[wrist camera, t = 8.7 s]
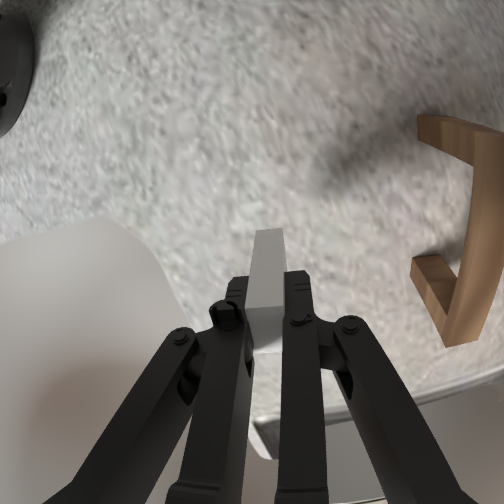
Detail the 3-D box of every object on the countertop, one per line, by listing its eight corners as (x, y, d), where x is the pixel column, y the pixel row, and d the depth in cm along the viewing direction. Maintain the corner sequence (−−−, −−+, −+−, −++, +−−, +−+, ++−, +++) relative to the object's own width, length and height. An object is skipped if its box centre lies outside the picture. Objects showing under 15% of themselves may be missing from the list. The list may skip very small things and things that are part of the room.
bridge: (409, 276, 25) (445, 347, 17) (417, 114, 18) (487, 135, 10) (436, 272, 25) (477, 340, 17) (449, 116, 18) (523, 139, 10)
